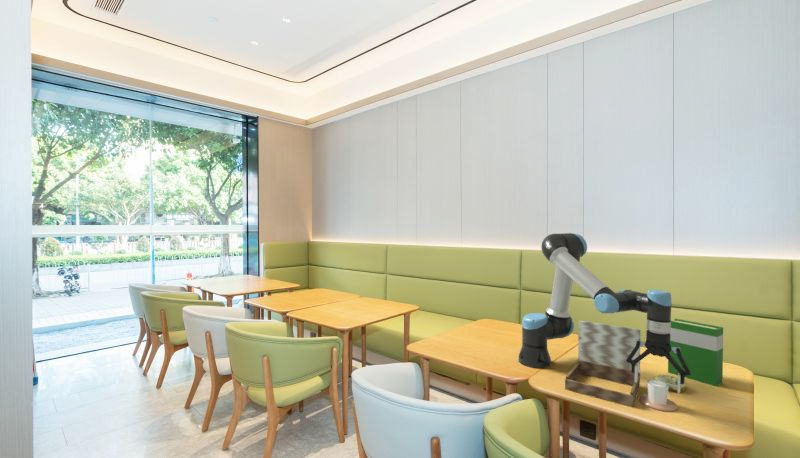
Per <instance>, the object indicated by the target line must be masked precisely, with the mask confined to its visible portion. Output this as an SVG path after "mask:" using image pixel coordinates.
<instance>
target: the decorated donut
mask: <svg viewBox="0 0 800 458" xmlns="http://www.w3.org/2000/svg"><path fill="white" fill-rule="evenodd" d="M653 380H657V381H661V382H664V383H666V384H668V386H669V388H668V391H671V392H672V391H673V392H677V390H678V377H674V376H671V375H667V374H658V375H656V376H655V377H654V379H653ZM686 390H687V383H686V382H685V381H684V384H680V393H682V392H686Z"/></svg>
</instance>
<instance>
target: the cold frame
mask: <svg viewBox="0 0 800 458" xmlns="http://www.w3.org/2000/svg"><path fill="white" fill-rule="evenodd" d="M577 329H578V332H577V333H578V335H577V338H578V339H577V340H578V342H577V344H578V345H577V348H578V349H577V357H578V358H577V362H576V364H575V365H574V366H573V367H572V368H571V369H570V371H569V372H568V373H567V374H566V376H565V379H564V390H567V391H570V392H571V391H572V392H575V393H579V394H583V395H586V396H589V397H594V398H598V399H602V400H604V401H609V402H612V403H616V404H620V405H624V406H627V407H631V408H633V407H634V406H635V402H636V399H637V395H638V393H639V390H640V386H641V384H640V383H641V380H640V379H641V360H640V361H639V362H638V363H637V364H638V380H637V383H636V382H634V380H635V373H632V371H631V370H632V365H631V363H629V362H627V361H626V360H627V358H628V356H629V355H630V354H631V352H632V351H633V349H634V348H635V346H636V342H637V340H641V329H637V328H633V327H624V326H618V325H610V324H606V323H605V324H604V323H598V322H592V321H584V320H578V328H577ZM639 355H641V347H639V349H638V350H637V352H636V353H635V355H634V356H633V358H632V360H634V359H635V358H637V357H638V356H639ZM580 375H583V376H589V377H592V378H597V379H601V380H606V381H609V382H614V383H618V384H622V385H626V386H631V389H630V392H629V393H630V394H628V393H625V392H620V391H617V390H612V389H608V388H604V387H601V386H596V385H592V384H588V383H585V382H580V381H576V379H578V377H579V376H580Z"/></svg>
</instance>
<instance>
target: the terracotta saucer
mask: <svg viewBox="0 0 800 458" xmlns="http://www.w3.org/2000/svg"><path fill="white" fill-rule="evenodd" d="M638 401H639V402H640V404H642V405H643V406H646V407H647V408H649V409H651V410H655V411H660V412H675V411H677V410H678V405H677V404H676V402H675V401H673V400H671V399H669V398H667V404H666V405H657V404H654V403H652V402H650V401H649V399H648V393H647V394H641V395H639V396H638Z"/></svg>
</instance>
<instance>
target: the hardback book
mask: <svg viewBox="0 0 800 458" xmlns="http://www.w3.org/2000/svg"><path fill="white" fill-rule="evenodd" d="M669 333H670V335H671V336H670V345H671V347H680V349H681V354H682V356H683V358H684V360H685V361H686V363H687V365H688V367H689V369H690V371H691V375H685V378H686V379H689V380H693V381H695V382H700V383H703V384H707V385H709V386H713V387H718V386H719V385H721V384H722V383H723V380H724V379H723V376H724V375H723V374H724V373H723V372H724V371H723V369H724V366H723V365H724V362H723V361H724V327H723V326H718V325H717V326H716V325H713V324H709V323H708V324H707V323H701V322H696V321H690V320H685V319H680V318H674V321H673V320H671V332H669ZM669 353H670V355H671V356H672V358H673V359H674V360H675V361H676V362H677V363H678V365H679V366H680V367H681V368H682V369H683V371H685V370H684V368H683V366H682V364H681V362H680V360H679V358H678V356H677V354H676V353H674V351H673V350H671V351H670V352H669ZM667 360H668V359H667ZM667 373H669V374H671V375H676V376H678V373H679V372H678V371H677V370H676V368H675V367H674V366H673V365H672V364H671V363H670V361H669V360H668V361H667ZM685 378H684V379H685Z"/></svg>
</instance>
